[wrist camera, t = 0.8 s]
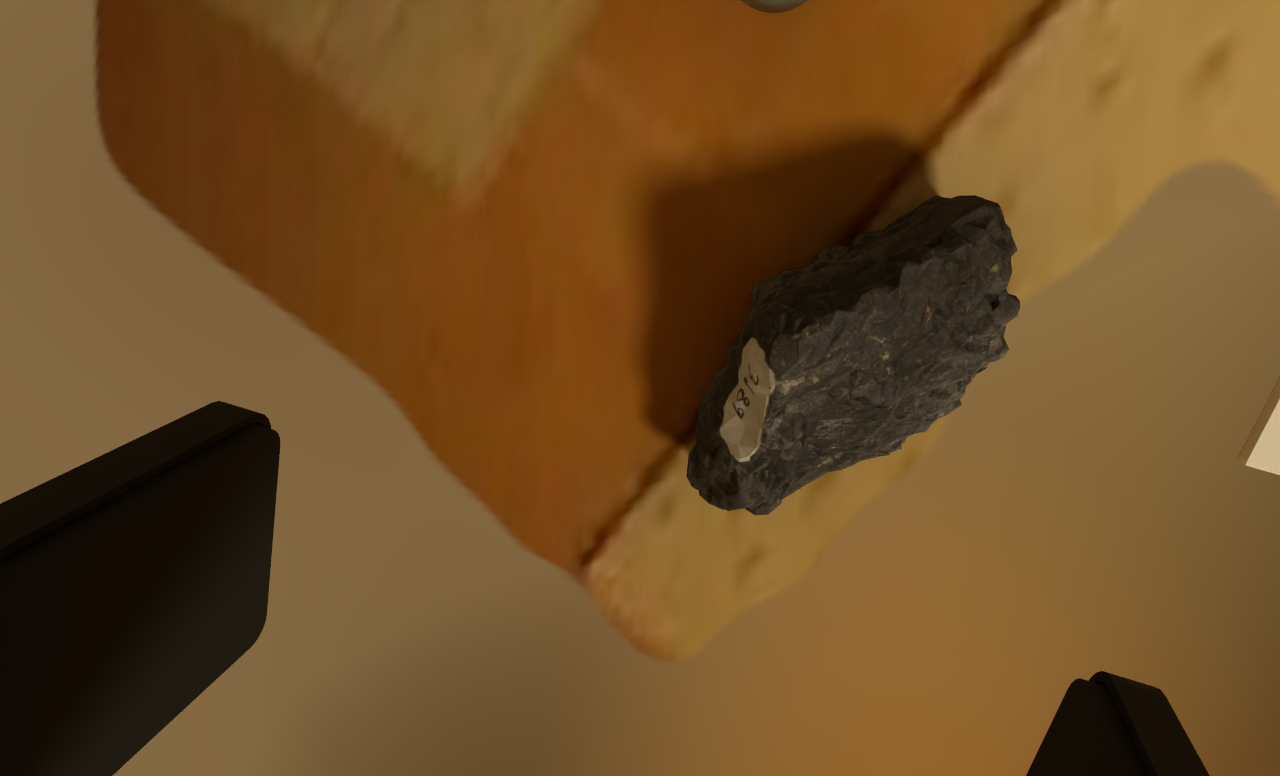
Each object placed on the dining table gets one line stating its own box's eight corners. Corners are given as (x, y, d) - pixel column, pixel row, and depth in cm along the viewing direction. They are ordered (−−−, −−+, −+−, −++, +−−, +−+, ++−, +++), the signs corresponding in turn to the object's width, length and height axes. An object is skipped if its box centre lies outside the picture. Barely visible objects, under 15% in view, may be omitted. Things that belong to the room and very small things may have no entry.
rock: (895, 104, 24) (923, 460, 22) (1055, 196, 29) (1093, 494, 26) (636, 246, 33) (632, 508, 31) (791, 297, 38) (799, 527, 36)
